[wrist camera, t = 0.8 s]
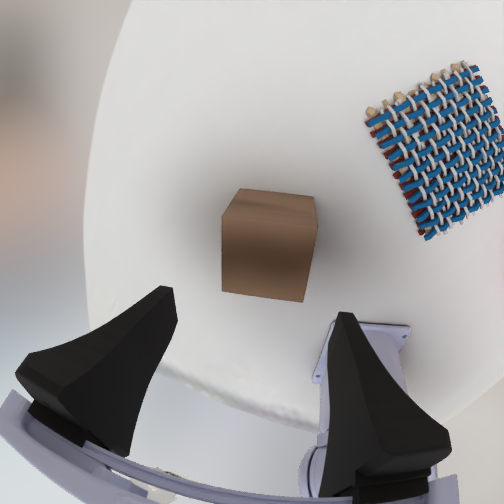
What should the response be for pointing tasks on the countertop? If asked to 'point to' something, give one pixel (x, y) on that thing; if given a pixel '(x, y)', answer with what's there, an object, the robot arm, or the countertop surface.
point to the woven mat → (444, 148)
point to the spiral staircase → (156, 491)
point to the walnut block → (268, 244)
